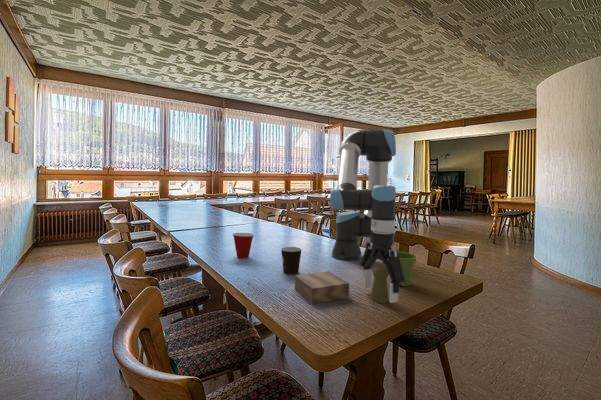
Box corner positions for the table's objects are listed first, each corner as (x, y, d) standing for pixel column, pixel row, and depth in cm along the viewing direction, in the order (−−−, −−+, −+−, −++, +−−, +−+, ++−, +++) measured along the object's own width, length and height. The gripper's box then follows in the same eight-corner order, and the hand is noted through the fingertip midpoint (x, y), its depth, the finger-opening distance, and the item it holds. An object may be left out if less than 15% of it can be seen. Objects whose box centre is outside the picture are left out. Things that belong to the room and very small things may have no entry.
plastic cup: (258, 256, 156) (258, 232, 155) (243, 260, 147) (244, 236, 146) (242, 253, 162) (242, 230, 161) (227, 257, 153) (227, 233, 152)
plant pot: (421, 283, 120) (423, 255, 119) (407, 291, 112) (409, 260, 111) (393, 276, 128) (395, 249, 128) (379, 282, 120) (380, 254, 119)
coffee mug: (298, 276, 126) (299, 252, 125) (278, 274, 128) (278, 250, 127) (304, 268, 137) (304, 246, 137) (285, 266, 139) (285, 244, 138)
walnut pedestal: (328, 284, 117) (328, 271, 117) (348, 297, 104) (349, 283, 104) (294, 288, 112) (295, 275, 111) (311, 303, 99) (312, 288, 98)
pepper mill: (368, 295, 106) (369, 264, 106) (385, 295, 107) (386, 264, 106) (373, 303, 100) (374, 270, 100) (391, 302, 101) (393, 270, 100)
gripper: (351, 226, 112) (349, 283, 113) (399, 240, 89) (396, 311, 91) (368, 225, 115) (366, 281, 116) (419, 238, 92) (415, 307, 94)
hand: (379, 294), depth 103 cm, fingers open, 13 cm apart
